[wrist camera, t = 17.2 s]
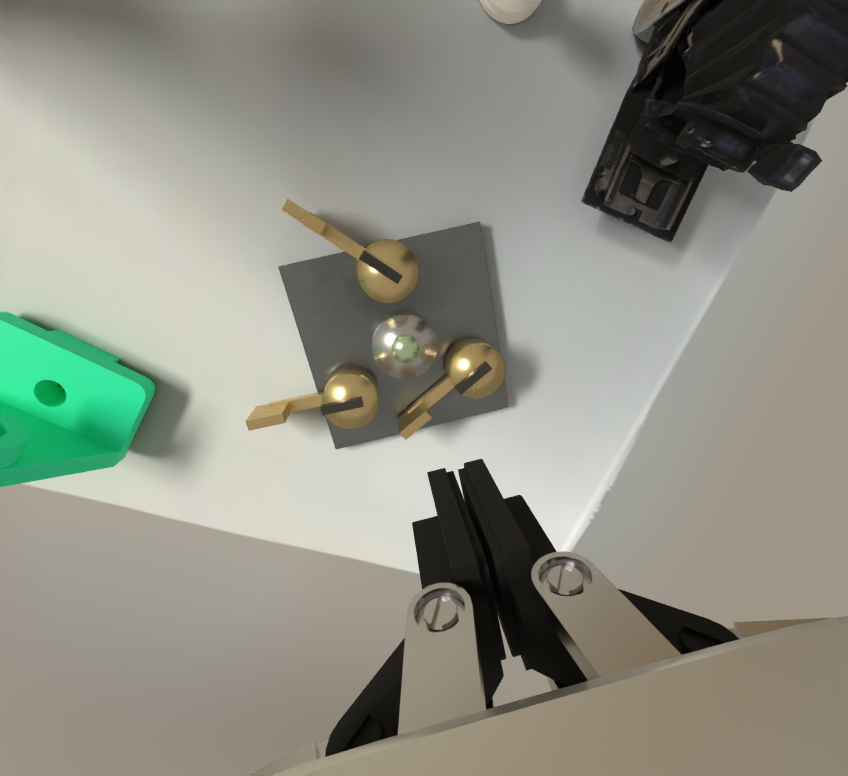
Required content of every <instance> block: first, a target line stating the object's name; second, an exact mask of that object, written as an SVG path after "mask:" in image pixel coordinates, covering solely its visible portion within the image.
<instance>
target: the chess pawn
mask: <svg viewBox="0 0 848 776" xmlns="http://www.w3.org/2000/svg"><path fill="white" fill-rule="evenodd" d="M541 1H542V0H480V2H481V5H482V7H483V8H484V10H485V11H486V12H487V13H488V15H489V16H491V17H492V18H493V19H495V20H496V21H498V22H501V23H504V24H515V23H518V22H521V21H524V20H525V19H526V18H528V17H529V16H531V15H532V13H533V12H534V11H535V10H536V8H537V7H538V6H539V4H540V2H541Z"/></svg>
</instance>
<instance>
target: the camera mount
mask: <svg viewBox="0 0 848 776" xmlns="http://www.w3.org/2000/svg"><path fill="white" fill-rule="evenodd" d="M119 360H120V358H117V357H115V356H113V355H111V354H109V353H107V352H105V351H103V350H100V349H98V348H96V347H94V346H92V345H90V344H88V343H86V342H84V341H81V340H79V339H77V338H75V337H73V336H71V335H69V334H67V333H64V332H62V331H60V330H58V329H57V330H53V331H47V330H45V329H43V328H41V327H39V326H36V325H34V324H32V323H30V322H28V321H26V320H24V319H22V318H19V317H17V316H15V315H13V314H11V313H8V312H0V487H2V486H8V485H13V484H20V483H25V482H31V481H36V480H42V479H47V478H53V477H58V476H64V475H69V474H75V473H81V472H86V471H92V470H97V469H103V468H108V467H114V466H115V465H116V464H117V463H118V462H120V461H121V460H122V459H123V458H124V457H125V455H126V453H127V450H128V448H129V446H130V444H131V442H132V440H133V438H134V436H135V434H136V432H137V429H138V427H139V425H140V423H141V421H142V419H143V417H144V415H145V413H146V411H147V408H148V406H149V404H150V402H151V400H152V398H153V396H154V394H155V386H154V384H153V382H152V381H151V380H150V379H149V378H147V377H145V376H143V375H141V374H139V373H137V372H135V371H132V370H130V369H128V368H126V367H124V366H122V365H120V364H118V362H119ZM57 383H59V384H60V385H61V386H62V387H63V388H64V390H65V392H66V394H65V393H63V392H62V391H61V390H60V389H59V387H58V385H57Z"/></svg>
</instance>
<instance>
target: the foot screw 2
mask: <svg viewBox="0 0 848 776" xmlns="http://www.w3.org/2000/svg"><path fill="white" fill-rule="evenodd" d="M320 406H321V411H322V414H323V415H325V416H326V417H327V419H328V420H329V421H330V422H331V423H333V424H334V425H336V426H338V427H341V428H345V429H356V428H360V427H362V426H364V425H366V424H367V423H369V422H370V421H371V420H372V419H373V418H374V416H375V414H376V412H377V409H378V387H377V383H376V381H375V379H374V377H373V376H372V375H371V374H370V373H369V372H368V371H366V370H365V369H363V368H360V367H356V366H347V367H342V368H340V369H338V370H336V371H335V372H334V373H333V374H332V375H331V376H330V377H329V379H328V381H327V383H326V386H325V389H324V392H319V393H315V394H310V395H305V396H300V397H296V398H291V399H286V400H281V401H277V402H272V403H270V404H266V405H262V406H257V407H256V408H255V409H254V410H253V412H252V413H251V414H250V416H249V417H248V419H247V420H246V424H247V427H248V430H254V429H259V428H263V427H268V426H273V425H277V424H282V423H285V422H286V420H287V418H288V416H289V414H290V413H292V412H297V411H302V410H306V409H311V408H316V407H320Z"/></svg>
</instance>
